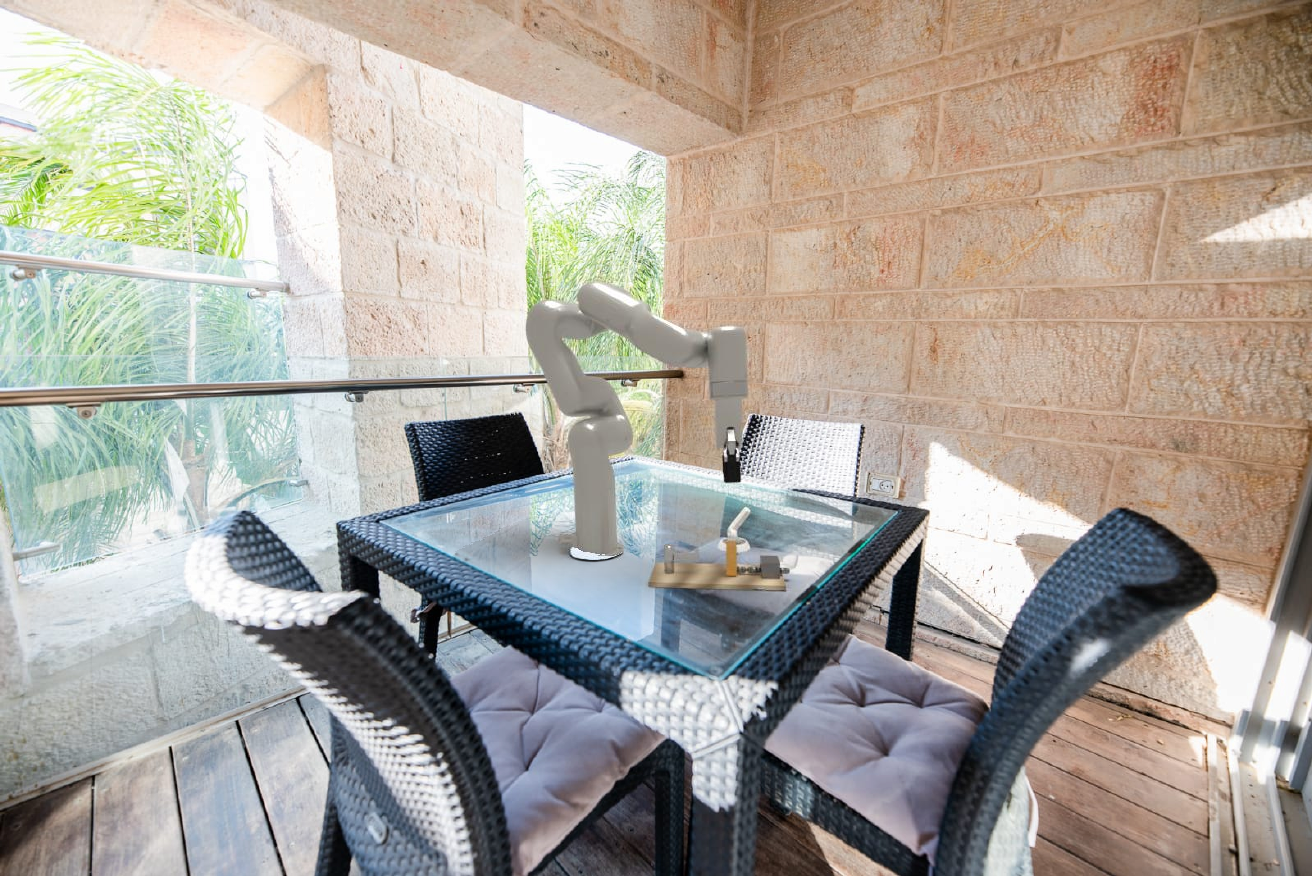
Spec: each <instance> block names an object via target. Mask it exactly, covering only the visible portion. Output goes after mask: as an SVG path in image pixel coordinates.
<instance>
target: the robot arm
mask: <svg viewBox="0 0 1312 876" xmlns="http://www.w3.org/2000/svg"><path fill="white" fill-rule="evenodd" d="M609 330H610V331H612V332H614V333H615V334H618V335H619V336H622V337H623V338H624V339H627V341H628V342H629V343H631V344H632V346H634V347H635V348H636V349H638V350H640V351H641V352H642V353H644V354H646V355H647V356H650V357H651V358H653V359H655V360H657V361H659V362H661V363H663V364H665V365H668V366H670V367H672V368H687V369H701V368H702V369H703V368H707V367H708V369H707V371H708V372H707V373H708V394H709V400H714V428H715V430H714V432H715V449H716V450H717V451H718V452H719V451H721V449H722V451H723V452H722V455H721V458H722V459H721V460H722V474H723V482H724V483H725V484H729V483H730V484H737V483H741V482H742V474H741V473H742V471H741V469H742V468H741V461H740V450H741V449H742V447H743V428H744V427H743V420H744V419H743V418H744V417H743V399H749V381H748V380H749V379H748V350H747V333H746V329H745V328H744V327H741V326H735V325H727V326H726V325H725V326H719V327H714V328H711V329H710V330H709V331H701V330H695V329H690V328H684V327H681V326H678V325H676V324H673V323H671V322H669V321H667V320H665V319H663V318H662V317H659V316H657V315H656V314H654V313H652V310H651V307H650V305H649V304H648V303H647V302H645V301H643V300H641V299H639V298H637V297H635V296H633V295H631V294H630V292H629V291H628V290H626V289H625V288H624V287H622V286H619V285H615V284H612V283H609V282H605V281H601V280H591V281H588V282H586V283H584V284H583V285H581V287H580V288H579V289H578V292H577V295H576V303H575V302H569V301H565V300H560V299H551V298H550V299H543V300H539V301H536V302H535V303H534V304H533V306H531V307H530V309H529V311H528V314H527V317H526V320H525V336H526V340H527V343H528V346H529V349H530V350H531V353H532V355H533V356H534V358H535V360H536V361H537V363H538V365H539V367H540V368H541V371H542V373H543V375H544V378H545V380H546V382H547V385H548V387H549V389H550V391H551V394H552V396H553V399H554V400H555V402H556V405H557V407H558V409H559V410H560V412H561V413H562V414H563V415H565V416H567V417H570V418H579V417H588V418H583V419H580V420H578V421H577V422H575V423H574V424H573V425H572V426H571V428H570V430H569V432H568V435H567V445H568V447H567V448H568V452H569V456H570V460H571V465H572V476H573V477H572V478H573V492H574V493H573V494H574V499H573V500H574V523H575V525H574V526H575V527H574V528H575V532H574V533H572V534H568V533H566V534H565V533H560V534H559V535H558V542H559V541H561V542H560V545H570V547H574V548H578V549H579V550H581V551H583V552H590V553H595V554H600V555H598V556H615V555H618V554H620V553H621V552H623V553H624V551H623V550H625V549H624V548H625V546H624V544H623V543H621V542H619V541H617V539H618V538H617V536H618V533H617V503H616V502H617V501H616V499H617V497H616V477H615V471H614V467H613V465H612V462H611V460H610V457H612V456H617V455H619V454H620V455H621V454H623V453H624V452H626V451H627V450H629V449H630V447H631V446H632V444H633V440H634V431H633V427H632V424H631V421H630V420H629V417H628V415H627V413H626V411H625V409H624V406H623V405H622V402H621V400H620V399H619V396H618V393H617V392H616V389H615V388H614V386H612V384H611V383H610V382H609V381H608V380H606V379H605V378H604V377H599V376H593V375H592V376H591V375H589V376H588V375H586V374H585V372H584V371H583V369H582V367H581V366H580V363H579V361H578V358H577V356H576V354H575V353H574V352H573V351H572V349H571V348H570V347H569V346H568V345H567V344H566V343H565V341H564V340H563V339H569V340H576V341H577V340H587V339H590V338H593V337H595V336H598V335H599V334H602V333H605V332H607V331H609ZM602 554H605V555H602Z"/></svg>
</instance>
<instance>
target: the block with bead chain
mask: <svg viewBox="0 0 1312 876" xmlns="http://www.w3.org/2000/svg"><path fill="white" fill-rule="evenodd" d="M737 545H738V543H736V541H726V553H725V554H726V555H725V557H726V558H725V561H726V562H725V564H726V574H727V576H737V573H745V572H746V571H747V572H748V573H760V572H761V569H760V568H759V567H748V568H747V569H746V567H738V566H737V564H738V560H737V559H738V554H737ZM790 571H791V570H790V568H788V567H780V574H782V575H788V574H790Z"/></svg>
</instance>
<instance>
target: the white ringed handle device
mask: <svg viewBox="0 0 1312 876" xmlns="http://www.w3.org/2000/svg"><path fill="white" fill-rule="evenodd" d="M750 513H751V510H750V508H748V507H747V506H745V507H743V509H742V510H741V511H740V512H739V514H738V515H737V516H736V517H735V519H734V520H733V521H732V522H731V524H730V525H729V526H728V528H727V532H726V533H727V537H723V538H722V539H720V540H719V543H718V544H717V549H718V550H719V551H722V552H726V541H736V544H737V553H738V554H739V553H745V552H749V551H750V549H751V546H750V543H749V542H748V540H747V539H746V538H742V537H739V535H738V529H739V528H740V527H741V525H742V524H743V523H744V521H746V519H747V518H748V516H749V515H750Z"/></svg>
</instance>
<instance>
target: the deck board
mask: <svg viewBox="0 0 1312 876" xmlns="http://www.w3.org/2000/svg"><path fill="white" fill-rule="evenodd" d="M737 566H738V567H746V569H747V568H748V567H759V568H760V564H739V563H737ZM648 580H649V581H648V587H649V588H668V589H669V588H671V589H672V588H673V589H675V588H676V589H677V588H678V589H703V590H704V589H706V590H739V591H741V590H742V591H754V590H753V589H758V588H764V589H766V590H778V591H777V592H780V591H779V590H786V591H787V584H786V582H785V578H784V574H780V579H762V578H761V573H748V572H747V571H746V572H745V573H737V576H727V574H726V563H700V562H699V563H698V562H697V563H695V562H694V563H692V562H674V573H672V574H666V573H664V562H658V561H657V562H655V563H654V565H653V568H652V571H651V574H650V577H649V579H648ZM766 590H765V591H766Z"/></svg>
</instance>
